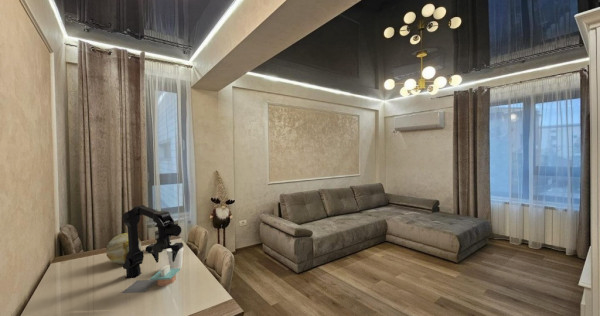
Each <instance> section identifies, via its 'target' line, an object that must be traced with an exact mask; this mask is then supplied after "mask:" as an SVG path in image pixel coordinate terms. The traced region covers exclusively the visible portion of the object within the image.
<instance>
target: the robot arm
mask: <svg viewBox="0 0 600 316" xmlns="http://www.w3.org/2000/svg"><path fill="white" fill-rule="evenodd" d="M141 216H145V217H148V218H150V219H152V221H153V222H154V223H156V224H155V225H154V228H157V230H158V238H157V242H156V243H151V244H148V245H147V246H146V247H145V252H146V253H148V254H151V255H152V257H153V259H154V260H155V262H156V263H159V259H160V257H159V256H160V255H159V254H161V253H163V251H164V250H163V249H171V250H172V251H171V252H172V260H173V262H174V261H175V258H176V255H177V253H178V251H179V250H180V249H181V248H182V247H183V248H184V244H183V242H175V243H173V244H172V241H171V237H179V236H180V235H181V233H182V227H181V226H180V225H179V223H177V222H175V219H174V218H173V216H172V215H171V213H170V212H169V211H164V210H162V211H160V210H156V209H153V208H150V207H147V206H146V205H145V204H144V205H143V204H141V205H136V206H134V207H133V208H132V209H130V210H128V211H126V212H124V213H123V214H122V221H123V223H124V225H125V226H126V227H127V233H128V242H129V252H128V254H127V256H126V261H125V263H123V264H122V267H123V268H122V269H123V270H126V276H125V277H124V279H135V278H138V277H139V276H140V275H141V274H142V272H141V266H140V265H142V264H143V261H144V258H145V255H144V251H143V250H140V249H139V242H138V238H139V232H138V231H139V229H138V226H139V223H140V220H141Z"/></svg>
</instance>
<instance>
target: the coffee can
mask: <svg viewBox="0 0 600 316" xmlns="http://www.w3.org/2000/svg"><path fill="white" fill-rule="evenodd" d="M157 238H158V229H157V230H155V231H154V239H155V243H156V242H157ZM155 243H154V244H155ZM163 251H167V249H163Z"/></svg>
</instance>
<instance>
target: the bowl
mask: <svg viewBox="0 0 600 316" xmlns="http://www.w3.org/2000/svg"><path fill="white" fill-rule="evenodd" d="M176 276H177V273H176V274H175V275H174V276H173V277H172V278H171V279H164V280H156V281H157V282H156V285H157V286H158V287H165V286H169V285H170V284H173V283H174V282H175V281H177V277H176Z"/></svg>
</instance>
